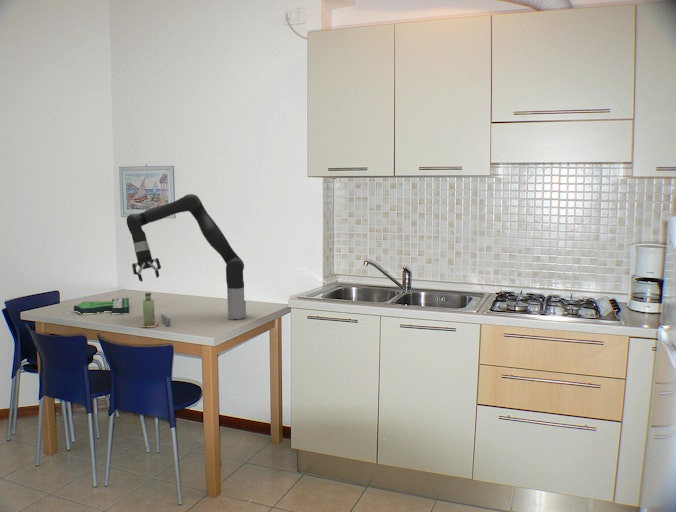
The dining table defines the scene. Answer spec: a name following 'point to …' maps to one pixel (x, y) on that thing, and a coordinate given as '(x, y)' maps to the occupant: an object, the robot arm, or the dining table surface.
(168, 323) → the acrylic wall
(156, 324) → the coaster
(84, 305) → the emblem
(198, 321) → the dining table surface
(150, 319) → the bottle
